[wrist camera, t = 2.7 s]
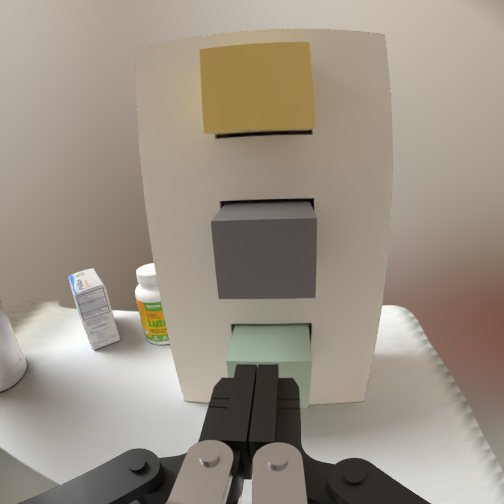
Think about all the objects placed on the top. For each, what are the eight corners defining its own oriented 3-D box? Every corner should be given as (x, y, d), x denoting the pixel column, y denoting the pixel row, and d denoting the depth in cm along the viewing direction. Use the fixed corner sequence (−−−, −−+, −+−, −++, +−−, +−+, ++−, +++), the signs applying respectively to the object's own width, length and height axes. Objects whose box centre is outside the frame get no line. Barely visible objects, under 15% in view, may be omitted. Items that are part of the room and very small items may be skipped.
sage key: (232, 407, 23) (226, 360, 22) (241, 358, 29) (237, 314, 28) (308, 408, 23) (312, 361, 21) (305, 358, 29) (306, 313, 27)
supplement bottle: (150, 350, 38) (133, 281, 35) (142, 329, 43) (128, 266, 39) (189, 339, 40) (177, 271, 37) (177, 320, 45) (167, 257, 42)
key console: (184, 400, 30) (135, 49, 19) (200, 354, 37) (169, 67, 26) (363, 401, 28) (384, 34, 17) (351, 353, 35) (359, 58, 25)
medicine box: (121, 341, 40) (106, 284, 37) (92, 351, 37) (73, 294, 34) (107, 317, 46) (94, 266, 43) (82, 326, 43) (67, 274, 40)
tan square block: (203, 133, 17) (199, 49, 15) (224, 134, 23) (220, 71, 21) (315, 128, 16) (309, 42, 14) (305, 130, 22) (301, 66, 20)
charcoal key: (218, 298, 20) (210, 221, 18) (233, 260, 26) (228, 199, 24) (315, 298, 19) (316, 218, 18) (307, 259, 25) (307, 197, 24)
